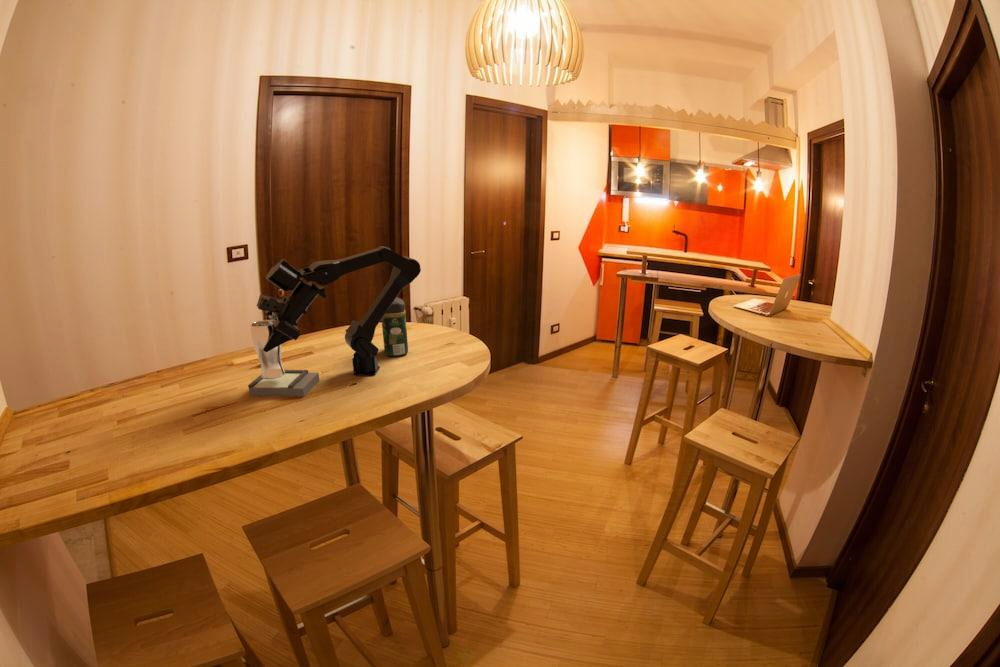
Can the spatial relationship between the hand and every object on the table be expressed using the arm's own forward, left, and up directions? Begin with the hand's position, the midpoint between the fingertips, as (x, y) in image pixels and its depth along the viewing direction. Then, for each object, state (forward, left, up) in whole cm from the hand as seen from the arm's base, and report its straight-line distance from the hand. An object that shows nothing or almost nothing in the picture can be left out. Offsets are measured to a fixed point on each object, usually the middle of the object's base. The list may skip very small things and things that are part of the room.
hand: (262, 347), depth 136 cm
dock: (-3, -3, -13) cm, 14 cm away
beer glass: (-2, -1, -9) cm, 9 cm away
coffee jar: (-28, -32, -13) cm, 45 cm away
